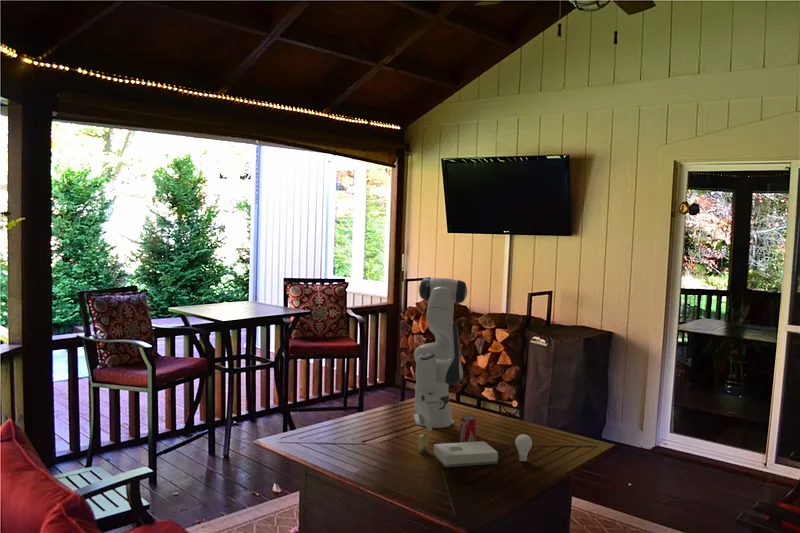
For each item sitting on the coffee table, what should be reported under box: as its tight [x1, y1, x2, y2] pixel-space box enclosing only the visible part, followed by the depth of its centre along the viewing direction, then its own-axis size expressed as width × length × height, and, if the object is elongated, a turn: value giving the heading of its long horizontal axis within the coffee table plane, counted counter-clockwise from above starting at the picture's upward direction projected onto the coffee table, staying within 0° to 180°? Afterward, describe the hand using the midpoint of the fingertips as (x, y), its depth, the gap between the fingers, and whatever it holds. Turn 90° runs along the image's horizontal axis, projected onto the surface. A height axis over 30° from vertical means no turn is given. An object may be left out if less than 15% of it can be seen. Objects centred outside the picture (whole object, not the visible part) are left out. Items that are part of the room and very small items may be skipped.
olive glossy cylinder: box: [417, 433, 430, 455], centre depth 259 cm, size 4×4×7 cm
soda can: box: [459, 414, 478, 443], centre depth 271 cm, size 7×7×12 cm
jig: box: [432, 440, 499, 468], centre depth 252 cm, size 14×22×4 cm, turn 106°
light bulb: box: [514, 434, 533, 463], centre depth 252 cm, size 7×7×11 cm
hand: (425, 427), depth 258 cm, fingers open, 8 cm apart
